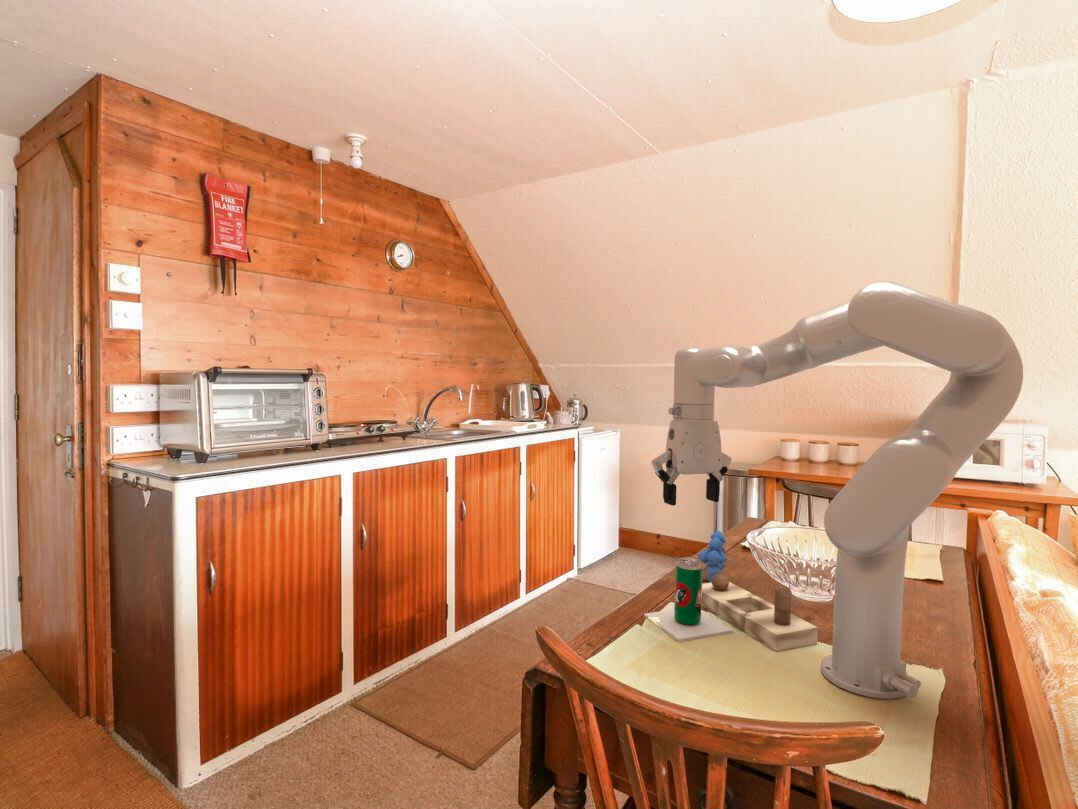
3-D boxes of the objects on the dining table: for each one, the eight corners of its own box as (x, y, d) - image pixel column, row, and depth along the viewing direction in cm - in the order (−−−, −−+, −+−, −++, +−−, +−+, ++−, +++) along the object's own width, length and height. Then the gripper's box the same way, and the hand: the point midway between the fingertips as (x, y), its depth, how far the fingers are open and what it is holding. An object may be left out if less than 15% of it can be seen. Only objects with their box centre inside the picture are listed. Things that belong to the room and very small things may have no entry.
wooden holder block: (817, 643, 108) (819, 595, 108) (776, 651, 105) (778, 601, 105) (726, 593, 132) (727, 553, 132) (690, 598, 129) (691, 557, 129)
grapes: (701, 572, 146) (702, 524, 146) (729, 576, 143) (731, 527, 143) (692, 587, 136) (693, 535, 135) (723, 592, 133) (724, 539, 132)
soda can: (701, 627, 113) (704, 565, 112) (674, 625, 114) (676, 563, 113) (699, 616, 118) (701, 557, 117) (673, 614, 119) (675, 555, 118)
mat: (732, 632, 113) (732, 630, 112) (678, 641, 108) (678, 639, 108) (694, 608, 124) (694, 606, 124) (644, 616, 119) (644, 613, 119)
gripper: (665, 415, 107) (663, 509, 108) (743, 414, 113) (741, 503, 114) (643, 412, 114) (641, 501, 115) (718, 411, 120) (716, 495, 121)
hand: (691, 502), depth 115 cm, fingers open, 9 cm apart
